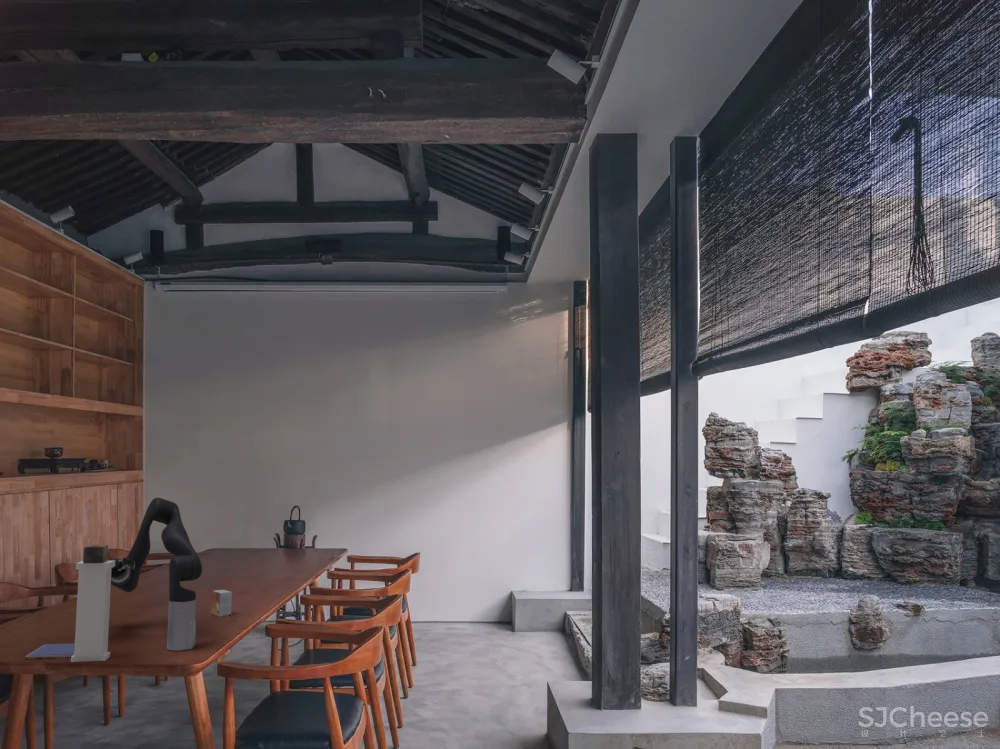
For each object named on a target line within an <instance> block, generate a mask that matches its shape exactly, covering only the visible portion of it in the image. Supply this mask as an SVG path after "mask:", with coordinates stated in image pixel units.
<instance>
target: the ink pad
mask: <svg viewBox="0 0 1000 749" xmlns="http://www.w3.org/2000/svg"><path fill="white" fill-rule="evenodd" d="M74 649H75V643H51V644H50V643H48V644H47V643H46V644H45V643H44V644H43V645H41V646H39V647H38V648H36V649H34V650H33V651H32V652H30V653H28V654H26V655H25V656H24V658H25V657H69V658H68V659H71V658H70V657H72V656H73V655H74Z"/></svg>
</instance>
